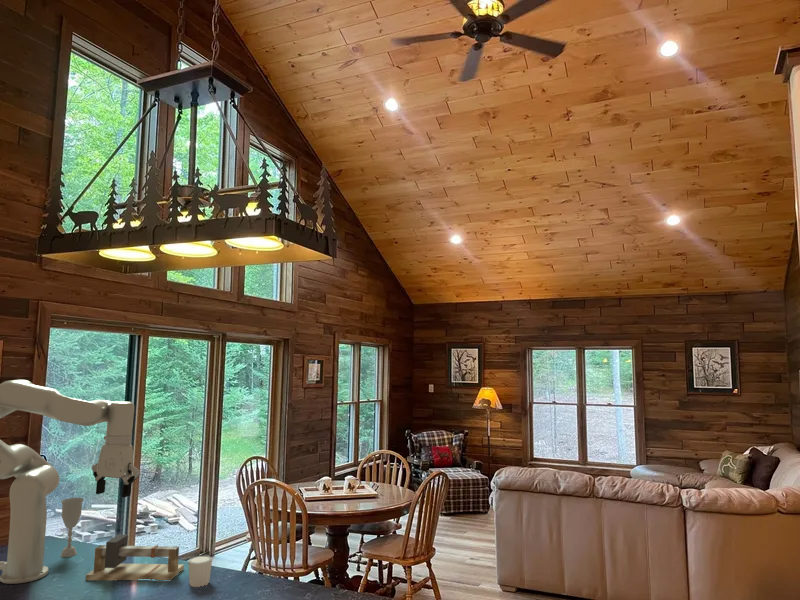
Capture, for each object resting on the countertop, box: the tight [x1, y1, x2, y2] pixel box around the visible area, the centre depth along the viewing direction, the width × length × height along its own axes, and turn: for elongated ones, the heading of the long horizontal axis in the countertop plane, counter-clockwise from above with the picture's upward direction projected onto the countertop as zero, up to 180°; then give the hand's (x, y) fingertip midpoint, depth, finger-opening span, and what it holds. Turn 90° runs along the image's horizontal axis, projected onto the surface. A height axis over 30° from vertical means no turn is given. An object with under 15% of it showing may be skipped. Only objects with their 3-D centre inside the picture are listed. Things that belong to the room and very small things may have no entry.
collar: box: [105, 534, 129, 568], centre depth 179 cm, size 3×8×8 cm, turn 0°
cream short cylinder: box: [188, 555, 213, 588], centre depth 173 cm, size 7×7×7 cm
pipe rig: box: [85, 544, 185, 582], centre depth 179 cm, size 26×10×8 cm, turn 90°
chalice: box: [59, 497, 84, 558], centre depth 197 cm, size 7×7×18 cm
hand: (113, 494), depth 183 cm, fingers open, 9 cm apart
